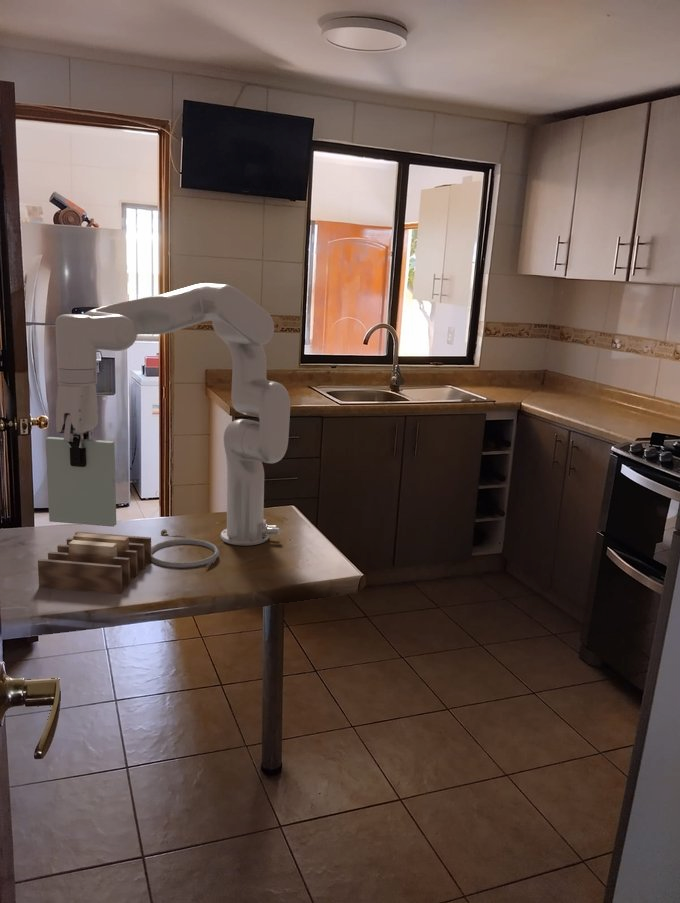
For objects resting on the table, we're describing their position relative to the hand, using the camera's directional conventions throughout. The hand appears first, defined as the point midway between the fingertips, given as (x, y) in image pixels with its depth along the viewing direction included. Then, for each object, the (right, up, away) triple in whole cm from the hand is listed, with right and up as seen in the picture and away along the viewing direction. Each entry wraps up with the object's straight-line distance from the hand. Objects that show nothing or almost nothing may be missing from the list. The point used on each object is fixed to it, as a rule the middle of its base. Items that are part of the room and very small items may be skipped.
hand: (80, 464), depth 154 cm
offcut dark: (0, -24, +15) cm, 28 cm away
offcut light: (-1, -25, +10) cm, 27 cm away
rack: (-1, -26, +13) cm, 29 cm away
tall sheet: (-1, -12, +3) cm, 13 cm away
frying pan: (+13, -23, +31) cm, 41 cm away
